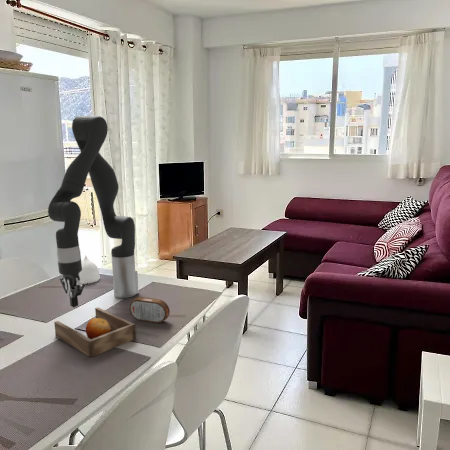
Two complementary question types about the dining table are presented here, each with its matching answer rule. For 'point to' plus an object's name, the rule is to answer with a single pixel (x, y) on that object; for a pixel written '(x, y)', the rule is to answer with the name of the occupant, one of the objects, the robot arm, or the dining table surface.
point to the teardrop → (89, 271)
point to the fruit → (97, 328)
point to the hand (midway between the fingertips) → (74, 306)
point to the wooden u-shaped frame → (95, 346)
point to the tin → (149, 309)
